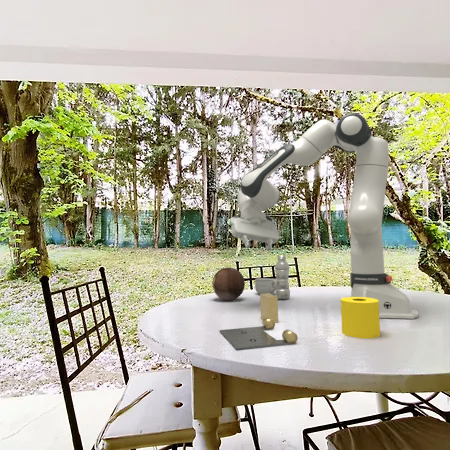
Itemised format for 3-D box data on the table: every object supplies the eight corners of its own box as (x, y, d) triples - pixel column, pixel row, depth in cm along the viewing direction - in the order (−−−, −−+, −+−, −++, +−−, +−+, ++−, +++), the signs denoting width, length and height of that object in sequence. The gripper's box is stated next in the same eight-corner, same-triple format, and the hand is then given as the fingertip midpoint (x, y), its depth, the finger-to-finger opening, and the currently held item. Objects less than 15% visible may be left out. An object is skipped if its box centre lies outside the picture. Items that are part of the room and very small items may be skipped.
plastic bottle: (275, 298, 156) (274, 255, 157) (290, 298, 155) (288, 255, 156) (275, 300, 150) (274, 255, 151) (290, 300, 149) (289, 255, 150)
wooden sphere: (245, 297, 161) (244, 266, 162) (244, 302, 146) (243, 268, 147) (215, 297, 162) (214, 266, 163) (210, 303, 147) (209, 269, 148)
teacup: (251, 293, 171) (251, 278, 172) (269, 292, 175) (269, 276, 176) (265, 297, 158) (264, 280, 159) (284, 295, 163) (284, 279, 163)
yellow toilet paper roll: (373, 340, 87) (371, 304, 88) (336, 334, 94) (334, 300, 94) (385, 332, 95) (383, 298, 95) (350, 327, 101) (348, 295, 102)
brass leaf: (260, 318, 115) (260, 293, 116) (270, 318, 116) (269, 293, 117) (268, 323, 108) (267, 297, 109) (278, 322, 109) (277, 296, 110)
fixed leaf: (219, 331, 99) (219, 321, 100) (271, 327, 104) (271, 317, 104) (236, 350, 82) (236, 337, 82) (297, 343, 86) (297, 331, 86)
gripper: (233, 210, 129) (238, 239, 121) (277, 219, 138) (285, 247, 130) (226, 220, 134) (231, 249, 126) (269, 228, 142) (276, 255, 134)
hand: (259, 248), depth 128 cm, fingers open, 8 cm apart
